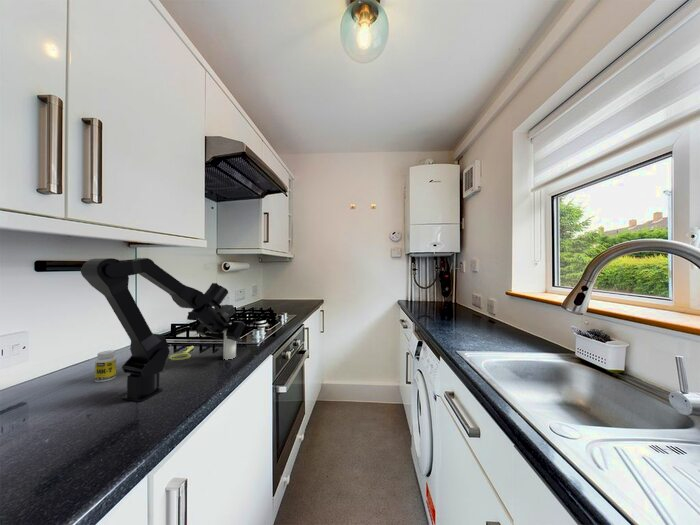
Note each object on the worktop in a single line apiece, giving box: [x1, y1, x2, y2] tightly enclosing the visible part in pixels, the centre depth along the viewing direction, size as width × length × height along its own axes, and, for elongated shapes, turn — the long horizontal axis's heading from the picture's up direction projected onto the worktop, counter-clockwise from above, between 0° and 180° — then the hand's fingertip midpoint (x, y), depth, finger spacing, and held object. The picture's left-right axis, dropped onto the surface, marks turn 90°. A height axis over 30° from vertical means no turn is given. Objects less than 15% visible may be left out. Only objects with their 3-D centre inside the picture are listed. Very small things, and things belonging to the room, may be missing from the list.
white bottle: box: [222, 322, 237, 361], centre depth 99 cm, size 4×4×13 cm
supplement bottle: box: [94, 349, 117, 383], centre depth 80 cm, size 5×5×8 cm
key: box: [168, 345, 195, 361], centre depth 102 cm, size 7×12×2 cm, turn 24°
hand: (232, 339), depth 100 cm, fingers open, 6 cm apart
